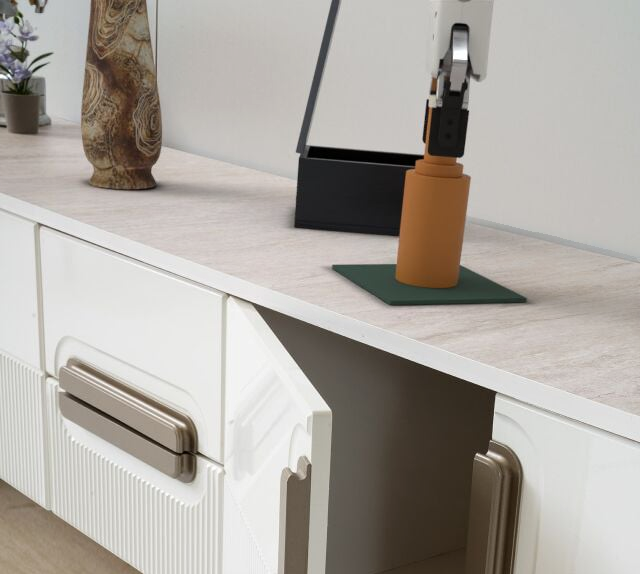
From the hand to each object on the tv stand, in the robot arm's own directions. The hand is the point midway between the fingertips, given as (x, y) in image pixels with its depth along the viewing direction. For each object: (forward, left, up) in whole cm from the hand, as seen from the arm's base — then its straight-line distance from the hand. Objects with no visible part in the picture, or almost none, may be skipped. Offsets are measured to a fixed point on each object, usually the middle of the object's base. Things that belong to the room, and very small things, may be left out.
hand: (441, 149), depth 103 cm
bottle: (0, 0, -12) cm, 12 cm away
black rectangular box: (-6, -30, -13) cm, 33 cm away
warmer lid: (0, -32, +4) cm, 32 cm away
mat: (0, 0, -13) cm, 13 cm away
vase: (+18, -55, -13) cm, 59 cm away
